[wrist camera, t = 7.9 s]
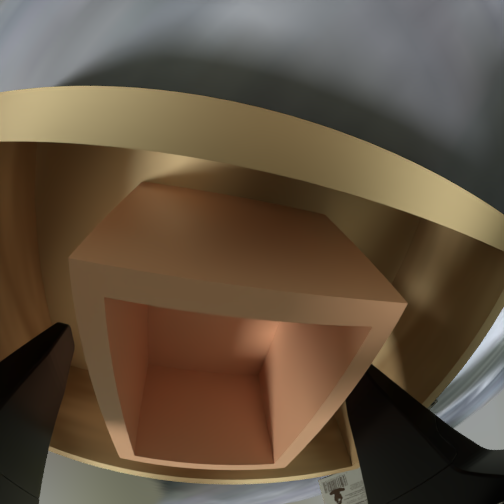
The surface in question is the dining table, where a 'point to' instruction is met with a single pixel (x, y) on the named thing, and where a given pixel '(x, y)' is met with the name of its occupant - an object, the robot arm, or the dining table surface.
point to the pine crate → (246, 186)
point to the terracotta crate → (223, 326)
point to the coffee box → (344, 488)
